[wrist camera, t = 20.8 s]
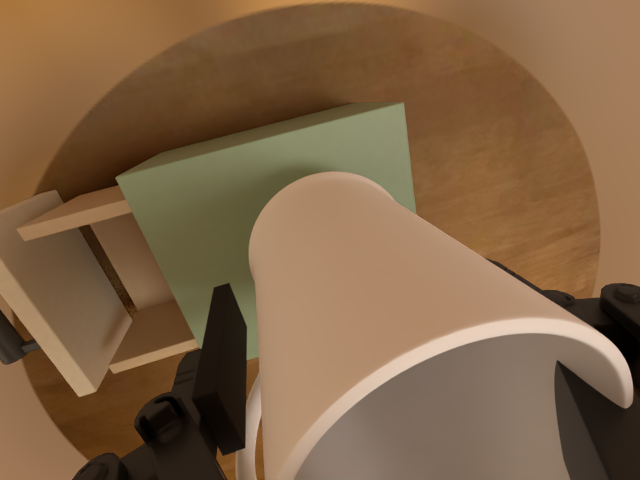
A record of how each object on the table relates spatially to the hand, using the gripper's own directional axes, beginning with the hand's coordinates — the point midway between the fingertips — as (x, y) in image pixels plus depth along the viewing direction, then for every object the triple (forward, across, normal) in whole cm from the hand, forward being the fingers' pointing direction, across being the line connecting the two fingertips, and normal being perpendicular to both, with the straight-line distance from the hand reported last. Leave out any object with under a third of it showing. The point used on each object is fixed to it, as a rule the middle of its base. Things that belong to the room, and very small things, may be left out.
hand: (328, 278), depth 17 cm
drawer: (+13, -13, 0) cm, 18 cm away
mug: (+2, -1, 0) cm, 2 cm away
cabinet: (+14, -1, 0) cm, 14 cm away
